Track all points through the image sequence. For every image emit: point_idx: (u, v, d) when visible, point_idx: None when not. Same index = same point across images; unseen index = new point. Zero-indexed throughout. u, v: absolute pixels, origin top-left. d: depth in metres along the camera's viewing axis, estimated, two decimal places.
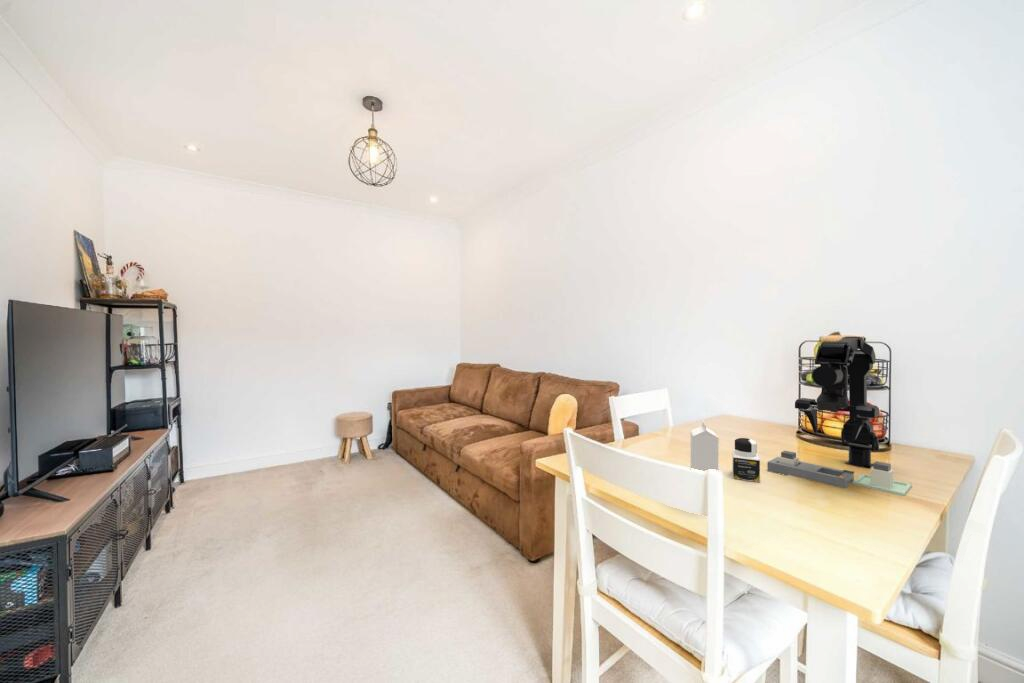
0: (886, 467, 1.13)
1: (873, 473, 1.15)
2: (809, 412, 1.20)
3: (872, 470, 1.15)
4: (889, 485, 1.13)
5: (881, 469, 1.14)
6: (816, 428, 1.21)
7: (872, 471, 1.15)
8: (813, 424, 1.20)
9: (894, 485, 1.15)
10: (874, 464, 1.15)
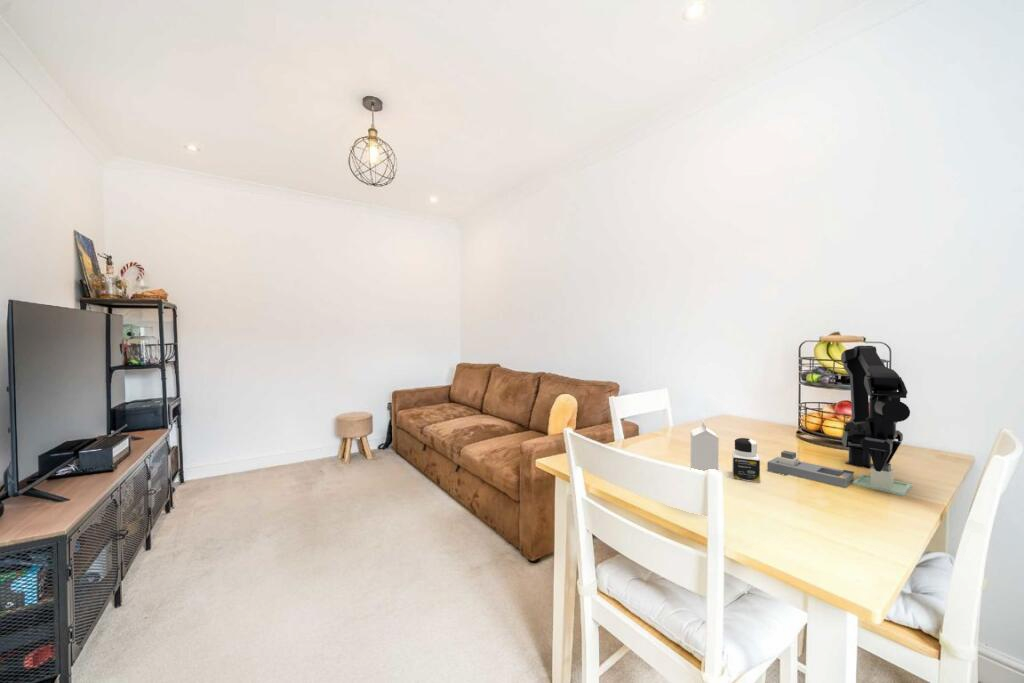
0: (886, 467, 1.13)
1: (873, 473, 1.15)
2: None
3: (872, 470, 1.15)
4: (889, 485, 1.13)
5: None
6: None
7: (872, 471, 1.15)
8: None
9: (894, 485, 1.15)
10: None
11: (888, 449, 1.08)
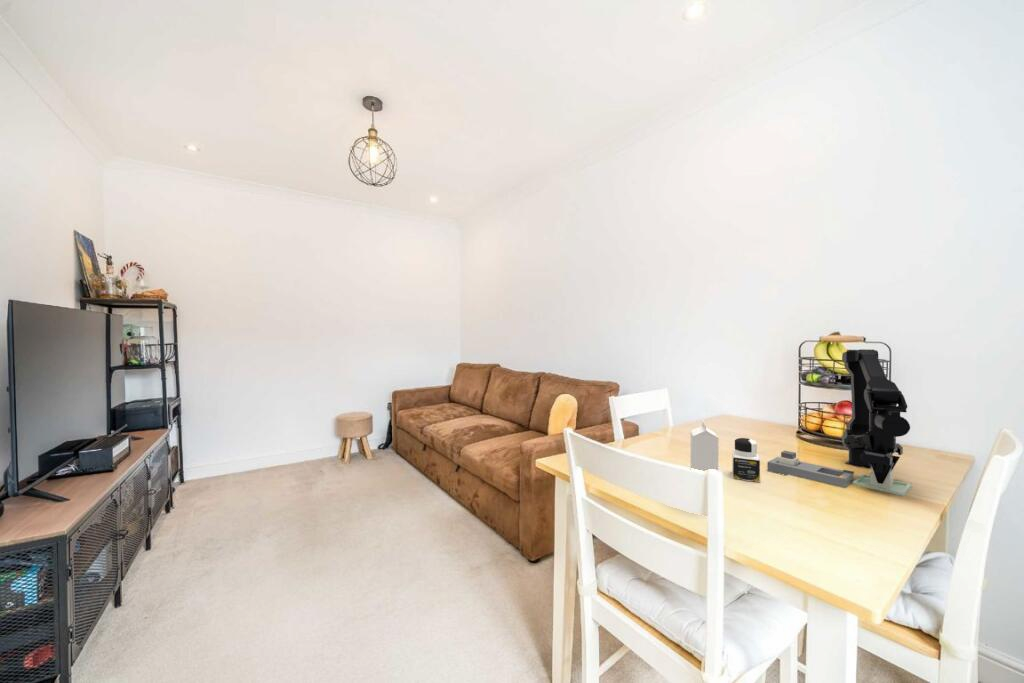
0: None
1: (873, 473, 1.15)
2: None
3: (872, 470, 1.15)
4: (889, 485, 1.13)
5: None
6: None
7: (872, 471, 1.15)
8: None
9: (894, 485, 1.15)
10: None
11: (888, 464, 1.08)
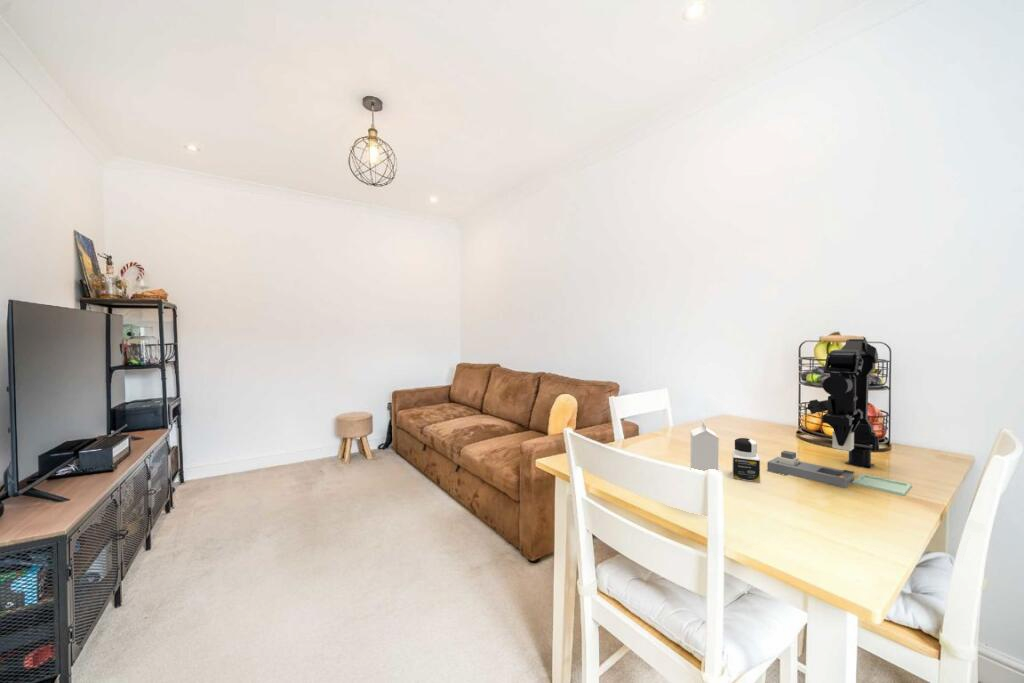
0: None
1: (834, 436, 1.18)
2: None
3: (834, 433, 1.18)
4: (849, 447, 1.16)
5: None
6: None
7: (834, 434, 1.18)
8: None
9: (894, 485, 1.15)
10: None
11: (847, 424, 1.10)
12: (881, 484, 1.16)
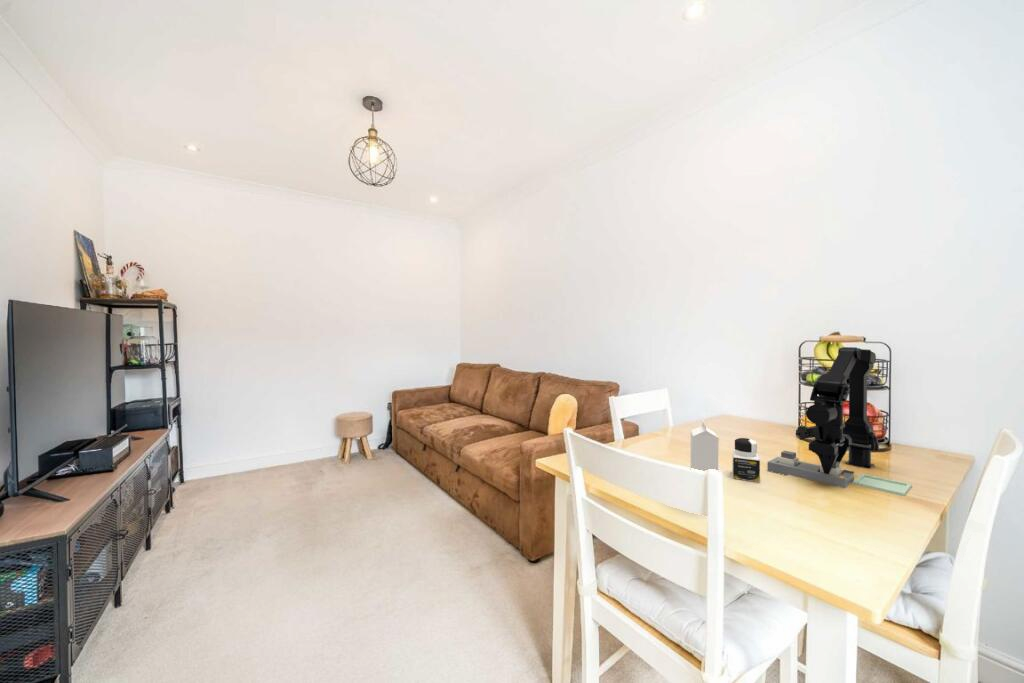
0: (834, 464, 1.18)
1: (822, 470, 1.20)
2: None
3: (821, 467, 1.20)
4: None
5: None
6: None
7: (821, 468, 1.20)
8: None
9: (894, 485, 1.15)
10: None
11: (833, 453, 1.12)
12: (881, 484, 1.16)
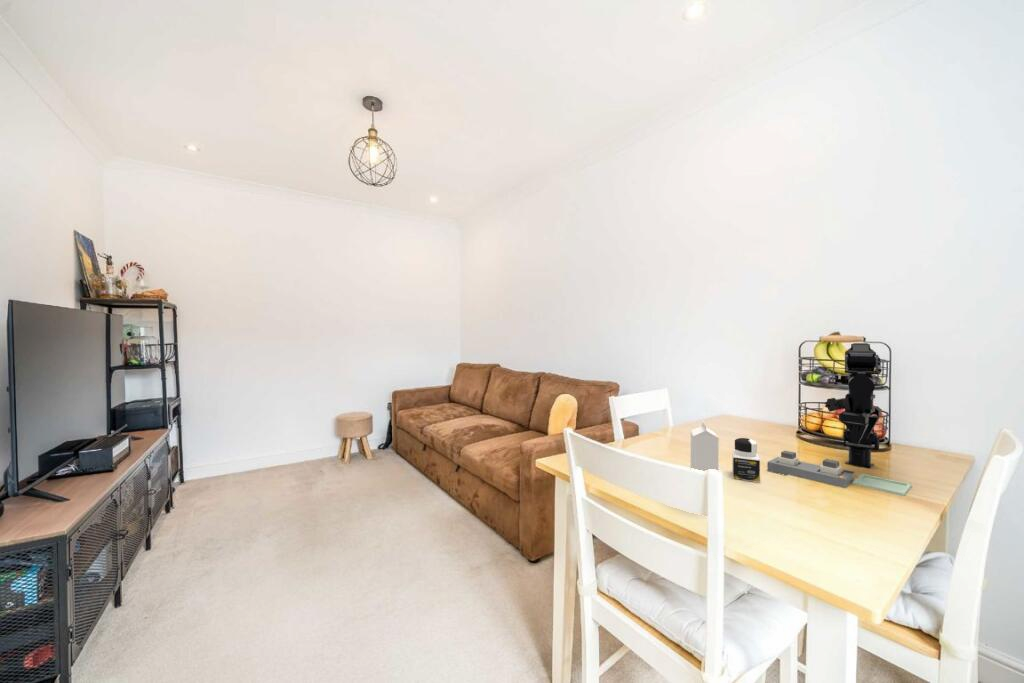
0: (834, 464, 1.18)
1: (822, 470, 1.20)
2: None
3: (821, 467, 1.20)
4: None
5: (829, 466, 1.19)
6: (864, 434, 1.25)
7: (821, 468, 1.20)
8: None
9: (894, 485, 1.15)
10: (823, 461, 1.20)
11: (864, 422, 1.14)
12: (881, 484, 1.16)
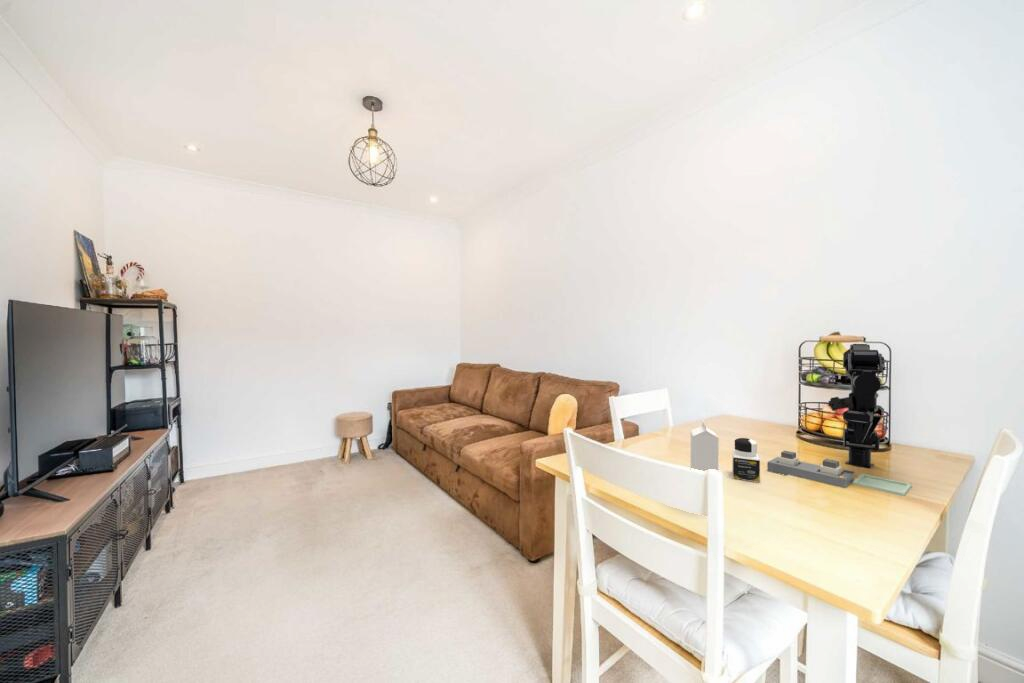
0: (834, 464, 1.18)
1: (822, 470, 1.20)
2: None
3: (821, 467, 1.20)
4: None
5: (829, 466, 1.19)
6: (867, 433, 1.25)
7: (821, 468, 1.20)
8: None
9: (894, 485, 1.15)
10: (823, 461, 1.20)
11: (868, 420, 1.14)
12: (881, 484, 1.16)
